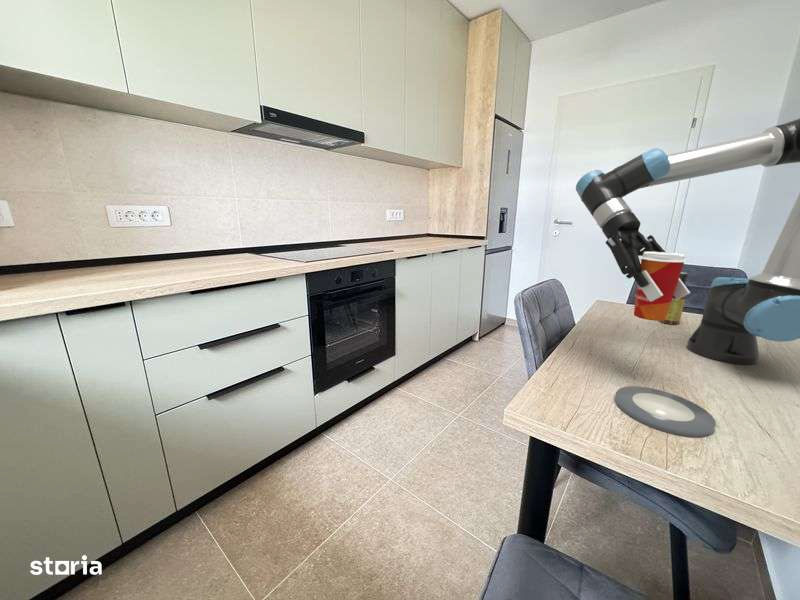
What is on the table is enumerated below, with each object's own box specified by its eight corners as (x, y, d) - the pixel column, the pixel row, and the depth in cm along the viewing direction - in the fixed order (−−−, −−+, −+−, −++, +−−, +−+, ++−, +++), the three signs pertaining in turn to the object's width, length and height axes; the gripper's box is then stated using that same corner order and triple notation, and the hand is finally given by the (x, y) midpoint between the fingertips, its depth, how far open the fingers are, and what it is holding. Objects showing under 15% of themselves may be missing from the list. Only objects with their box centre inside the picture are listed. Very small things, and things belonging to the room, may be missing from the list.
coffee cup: (629, 309, 82) (642, 250, 78) (671, 316, 76) (687, 253, 73) (626, 317, 75) (639, 253, 71) (671, 325, 70) (688, 256, 66)
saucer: (647, 386, 76) (648, 381, 76) (733, 427, 61) (735, 421, 61) (597, 397, 71) (598, 392, 70) (678, 445, 56) (680, 439, 56)
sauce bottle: (660, 319, 129) (672, 270, 124) (680, 323, 125) (693, 272, 120) (656, 322, 125) (668, 271, 120) (676, 326, 120) (690, 274, 115)
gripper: (633, 231, 88) (685, 302, 78) (574, 230, 82) (622, 308, 71) (658, 211, 82) (718, 285, 72) (596, 208, 75) (652, 290, 65)
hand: (670, 297), depth 71 cm, fingers closed on coffee cup, 8 cm apart
